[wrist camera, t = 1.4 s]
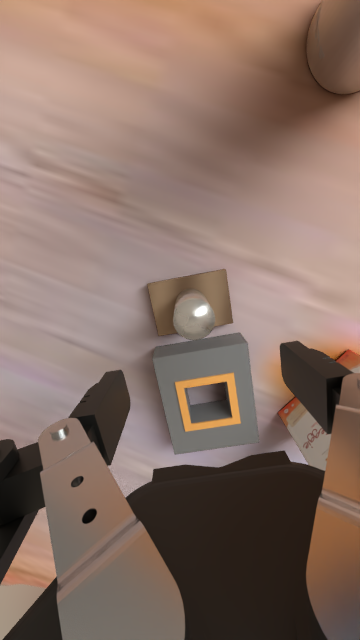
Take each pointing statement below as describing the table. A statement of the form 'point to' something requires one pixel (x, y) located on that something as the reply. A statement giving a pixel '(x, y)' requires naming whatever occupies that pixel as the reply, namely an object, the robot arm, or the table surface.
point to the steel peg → (193, 315)
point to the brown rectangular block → (206, 283)
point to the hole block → (202, 369)
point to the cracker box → (313, 422)
